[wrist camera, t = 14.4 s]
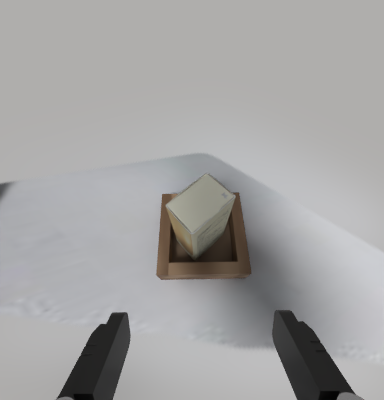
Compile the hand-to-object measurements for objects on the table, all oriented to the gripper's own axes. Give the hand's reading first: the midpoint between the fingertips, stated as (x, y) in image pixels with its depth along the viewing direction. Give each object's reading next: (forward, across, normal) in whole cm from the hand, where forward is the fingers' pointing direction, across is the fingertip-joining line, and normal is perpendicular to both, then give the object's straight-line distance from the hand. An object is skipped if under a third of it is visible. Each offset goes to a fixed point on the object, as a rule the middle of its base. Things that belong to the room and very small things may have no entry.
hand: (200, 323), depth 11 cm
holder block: (+20, -1, +5) cm, 20 cm away
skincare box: (+19, -1, +5) cm, 20 cm away
